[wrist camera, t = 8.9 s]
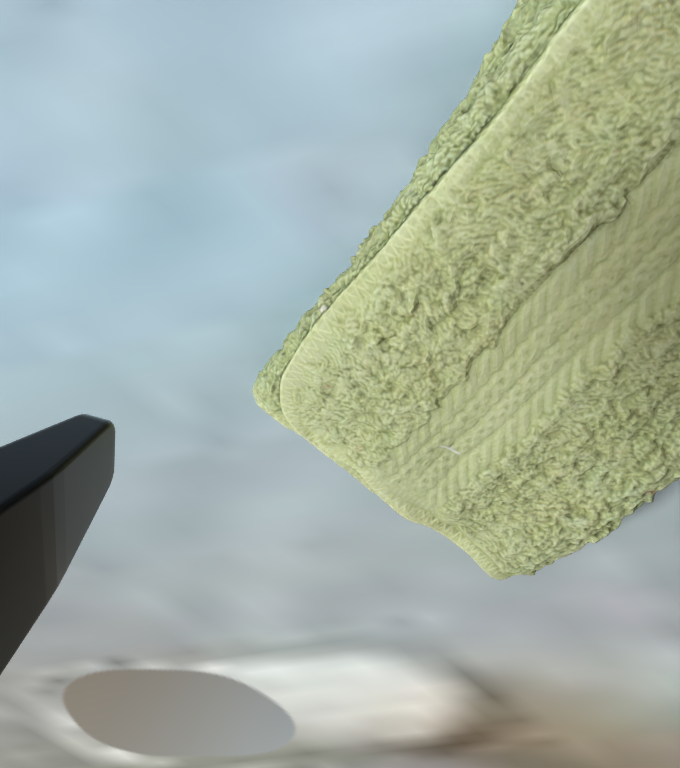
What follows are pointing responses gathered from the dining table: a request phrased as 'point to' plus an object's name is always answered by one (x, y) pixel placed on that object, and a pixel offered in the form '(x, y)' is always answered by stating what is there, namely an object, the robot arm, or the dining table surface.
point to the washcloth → (516, 300)
